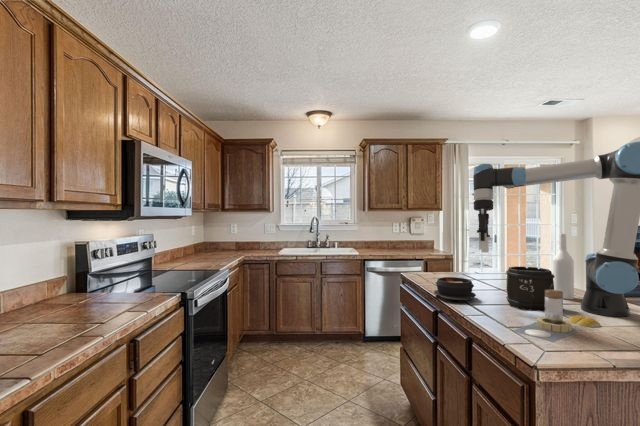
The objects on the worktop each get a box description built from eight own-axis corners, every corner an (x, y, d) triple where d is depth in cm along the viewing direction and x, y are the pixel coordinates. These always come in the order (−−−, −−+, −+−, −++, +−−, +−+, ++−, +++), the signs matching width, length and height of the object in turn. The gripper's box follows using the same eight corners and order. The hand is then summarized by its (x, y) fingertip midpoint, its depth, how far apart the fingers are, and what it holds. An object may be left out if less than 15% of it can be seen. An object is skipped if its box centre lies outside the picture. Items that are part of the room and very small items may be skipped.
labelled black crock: (540, 301, 157) (540, 266, 157) (564, 312, 139) (563, 272, 139) (498, 300, 158) (498, 265, 159) (516, 310, 141) (516, 272, 141)
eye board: (541, 324, 123) (541, 314, 123) (581, 334, 113) (581, 323, 113) (511, 335, 112) (511, 324, 112) (553, 347, 102) (553, 335, 102)
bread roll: (580, 323, 125) (580, 312, 125) (606, 331, 116) (605, 319, 116) (561, 325, 123) (561, 313, 123) (586, 333, 114) (586, 321, 114)
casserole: (432, 290, 179) (432, 274, 179) (472, 293, 173) (471, 276, 173) (434, 302, 155) (434, 283, 155) (480, 305, 149) (480, 286, 149)
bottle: (556, 298, 161) (555, 233, 161) (550, 295, 168) (550, 232, 169) (577, 300, 158) (576, 234, 158) (569, 296, 166) (569, 233, 166)
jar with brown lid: (557, 325, 118) (556, 289, 118) (566, 329, 113) (566, 292, 113) (541, 324, 118) (541, 289, 118) (550, 329, 113) (550, 292, 113)
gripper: (476, 206, 159) (476, 253, 156) (470, 194, 138) (471, 248, 134) (494, 206, 156) (495, 253, 152) (491, 193, 134) (492, 248, 131)
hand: (483, 251), depth 143 cm, fingers open, 13 cm apart
